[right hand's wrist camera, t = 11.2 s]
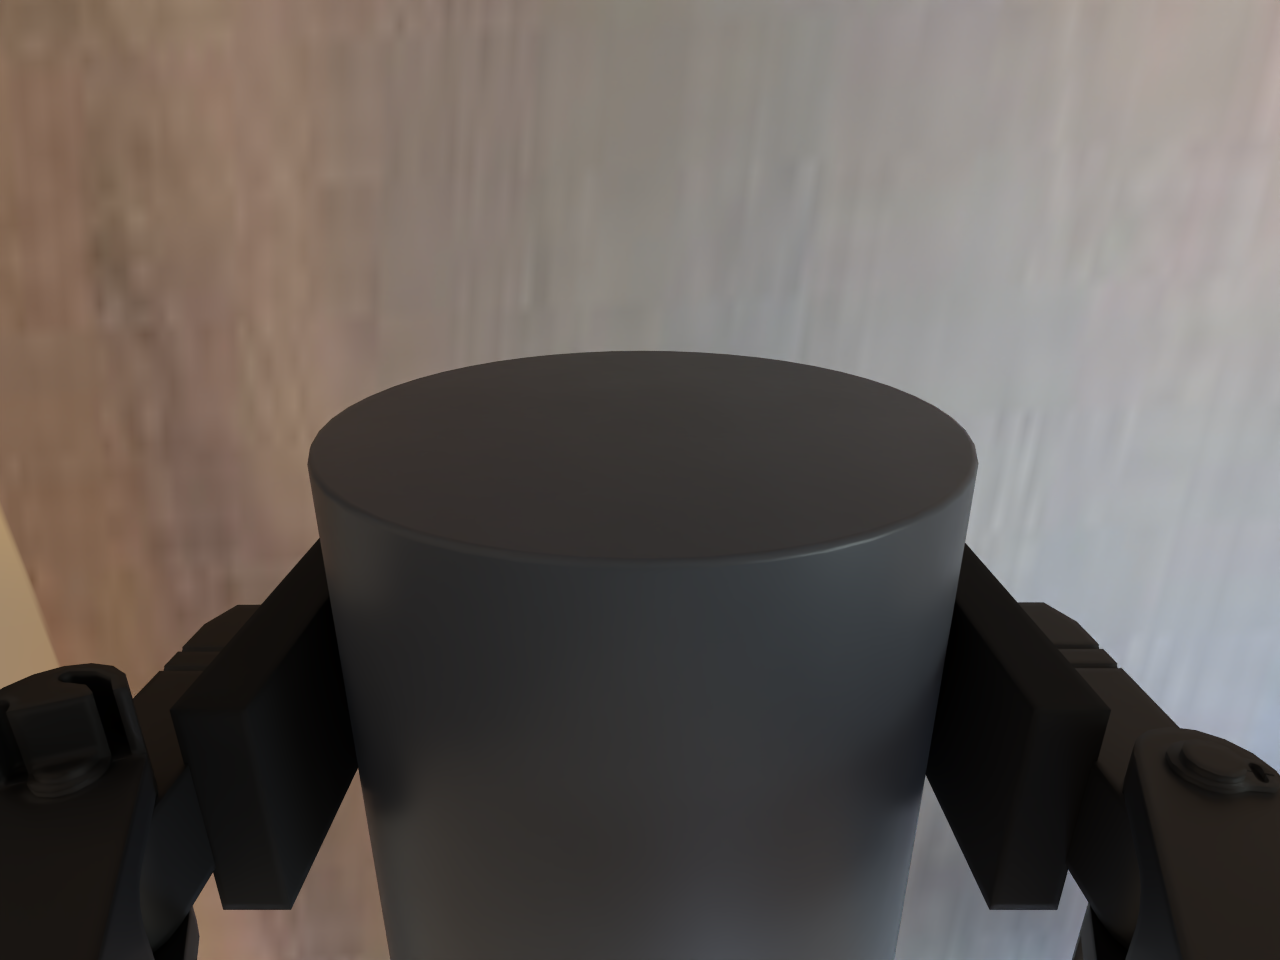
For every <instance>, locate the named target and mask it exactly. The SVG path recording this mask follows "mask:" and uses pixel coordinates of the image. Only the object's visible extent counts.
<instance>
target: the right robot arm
mask: <svg viewBox="0 0 1280 960" xmlns="http://www.w3.org/2000/svg"><path fill="white" fill-rule="evenodd" d="M357 769H358V763H357V757H356V751H355V745H354V739H353V733H352V727H351V721H350V715H349V709H348V703H347V697H346V691H345V685H344V679H343V673H342V667H341V661H340V655H339V650H338V644H337V638H336V632H335V626H334V620H333V614H332V608H331V602H330V596H329V590H328V584H327V578H326V572H325V566H324V560H323V554H322V548H321V542H320V538H319V539H318V540H317V542H316V543H315V544H314V545H313V546H312V547H311V548H310V550H309V551H308V552H307V553H306V554H305V555H304V556H303V558H302V559H301V560H300V561H299V562H298V563H297V564H296V566H295V567H294V568H293V569H292V570H291V571H290V572H289V574H288V575H287V576H286V577H285V578H284V579H283V580H282V582H281V583H280V584H279V585H278V586H277V587H276V588H275V590H274V591H273V592H272V593H271V594H270V595H269V596H268V598H267V599H266V600H265V601H264V602H263V603H262V604H261V605H237V606H235V607H233V608H231V609H230V610H228V611H226V612H225V613H223V614H221V615H220V616H218V617H216V618H214V619H213V620H211V621H209V622H208V623H206V624H204V625H203V626H202V627H201V628H200V629H199V631H198V632H197V633H196V634H195V635H194V636H193V637H192V638H191V639H190V640H189V641H188V642H187V643H186V644H185V645H184V646H183V650H182V652H177V653H176V654H175V655H174V657H173V658H172V659H171V660H170V661H169V662H168V663H167V664H166V665H165V666H164V671H159V672H158V673H157V674H156V675H155V676H154V677H153V678H152V679H151V680H150V681H149V683H148V684H147V685H146V686H145V687H144V688H143V689H142V690H141V691H140V692H139V693H138V694H137V695H136V696H135V697H134V698H132V695H131V691H130V688H129V685H128V681H127V678H126V674H125V673H123V672H121V671H120V670H118V669H117V668H115V667H114V666H109V665H101V664H94V663H89V664H80V665H71V666H63V667H59V668H56V669H52V670H48V671H45V672H41V673H37V674H34V675H31V676H29V677H27V678H24V679H22V680H20V681H17V682H15V683H13V684H11V685H8V686H6V687H4V688H2V689H0V960H197V954H198V945H199V931H198V925H197V920H196V916H195V913H194V909H193V904H194V902H195V901H196V899H197V897H198V896H199V894H200V893H201V891H202V889H203V888H204V886H205V884H206V883H207V881H208V879H209V878H210V876H211V875H212V873H214V877H215V881H216V884H217V888H218V892H219V895H220V899H221V903H222V907H223V910H291V908H292V906H293V904H294V902H295V900H296V898H297V896H298V894H299V892H300V889H301V887H302V885H303V883H304V881H305V879H306V877H307V875H308V873H309V870H310V868H311V866H312V864H313V862H314V860H315V858H316V856H317V853H318V851H319V849H320V847H321V845H322V843H323V841H324V839H325V837H326V834H327V832H328V830H329V828H330V826H331V824H332V822H333V820H334V817H335V815H336V813H337V811H338V809H339V807H340V805H341V803H342V801H343V798H344V796H345V794H346V792H347V790H348V788H349V786H350V784H351V782H352V779H353V777H354V775H355V773H356V771H357ZM926 776H927V778H928V780H929V783H930V785H931V787H932V789H933V791H934V793H935V795H936V797H937V799H938V802H939V804H940V806H941V808H942V810H943V812H944V814H945V816H946V819H947V821H948V823H949V825H950V827H951V829H952V831H953V833H954V835H955V838H956V840H957V842H958V844H959V846H960V848H961V850H962V852H963V854H964V857H965V859H966V861H967V863H968V865H969V867H970V869H971V871H972V874H973V876H974V878H975V880H976V882H977V884H978V886H979V888H980V890H981V893H982V895H983V897H984V899H985V901H986V903H987V905H988V907H989V909H990V910H1057V909H1058V905H1059V901H1060V898H1061V894H1062V890H1063V886H1064V883H1065V879H1066V875H1067V872H1068V870H1069V871H1070V873H1071V874H1072V876H1073V878H1074V879H1075V881H1076V883H1077V884H1078V886H1079V888H1080V889H1081V891H1082V892H1083V894H1084V896H1085V897H1086V899H1087V901H1088V906H1087V909H1086V913H1085V916H1084V920H1083V923H1082V927H1081V930H1080V933H1079V937H1078V940H1077V944H1076V947H1075V951H1074V954H1073V958H1072V960H1280V775H1279V774H1278V773H1277V771H1276V770H1274V769H1273V768H1272V767H1270V766H1269V765H1268V764H1266V763H1265V762H1264V761H1262V760H1261V759H1260V758H1258V757H1257V756H1256V755H1254V754H1253V753H1251V752H1249V751H1247V750H1245V749H1243V748H1241V747H1239V746H1237V745H1235V744H1233V743H1231V742H1229V741H1227V740H1225V739H1222V738H1219V737H1216V736H1213V735H1209V734H1206V733H1203V732H1200V731H1197V730H1190V729H1182V728H1179V727H1178V726H1177V725H1176V724H1175V723H1174V722H1173V721H1172V720H1171V719H1170V718H1169V716H1168V715H1167V714H1166V713H1165V712H1164V711H1163V710H1162V709H1161V708H1160V707H1159V706H1158V705H1157V704H1156V703H1155V702H1154V701H1153V700H1152V699H1151V698H1150V697H1149V696H1148V695H1147V694H1146V693H1145V692H1144V691H1143V690H1142V689H1141V688H1140V687H1139V686H1138V684H1137V683H1136V682H1135V681H1134V680H1133V679H1132V678H1131V677H1130V676H1129V675H1128V674H1127V673H1126V672H1125V671H1124V670H1123V669H1122V668H1117V663H1116V662H1115V661H1114V660H1113V659H1112V658H1111V657H1110V656H1109V655H1108V654H1107V652H1106V651H1105V650H1104V649H1099V644H1098V643H1097V642H1096V641H1095V640H1094V639H1093V638H1092V637H1091V636H1090V635H1089V634H1088V633H1087V632H1086V631H1085V630H1084V629H1083V628H1082V627H1081V626H1080V625H1079V624H1078V623H1077V622H1076V621H1075V620H1073V619H1071V618H1069V617H1068V616H1066V615H1064V614H1063V613H1061V612H1059V611H1057V610H1056V609H1054V608H1052V607H1051V606H1049V605H1047V604H1045V603H1044V602H1016V600H1015V599H1014V598H1013V597H1012V596H1011V595H1010V594H1009V592H1008V591H1007V590H1006V589H1005V588H1004V587H1003V586H1002V584H1001V583H1000V582H999V581H998V580H997V579H996V578H995V576H994V575H993V574H992V573H991V572H990V571H989V570H988V568H987V567H986V566H985V565H984V564H983V563H982V562H981V560H980V559H979V558H978V557H977V556H976V555H975V553H974V552H973V551H972V550H971V549H970V548H969V547H968V545H967V544H966V543H965V545H964V551H963V557H962V563H961V568H960V574H959V580H958V586H957V592H956V598H955V604H954V610H953V616H952V621H951V627H950V633H949V639H948V645H947V651H946V657H945V663H944V668H943V674H942V680H941V686H940V692H939V698H938V704H937V710H936V716H935V721H934V727H933V733H932V739H931V745H930V751H929V757H928V763H927V768H926Z"/></svg>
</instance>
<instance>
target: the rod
mask: <svg viewBox="0 0 1280 960" xmlns="http://www.w3.org/2000/svg"><path fill="white" fill-rule="evenodd" d="M307 465H308V471H309V477H310V483H311V489H312V495H313V501H314V507H315V513H316V519H317V524H318V530H319V536H320V542H321V548H322V554H323V560H324V566H325V572H326V578H327V584H328V590H329V596H330V602H331V608H332V614H333V620H334V626H335V632H336V638H337V644H338V650H339V655H340V661H341V667H342V673H343V679H344V685H345V691H346V697H347V703H348V709H349V715H350V721H351V727H352V733H353V739H354V745H355V751H356V757H357V763H358V769H359V775H360V781H361V787H362V792H363V798H364V804H365V810H366V816H367V822H368V828H369V834H370V840H371V846H372V852H373V858H374V864H375V870H376V876H377V882H378V888H379V894H380V900H381V906H382V912H383V918H384V923H385V929H386V935H387V941H388V947H389V953H390V959H391V960H894V957H895V951H896V945H897V939H898V933H899V927H900V921H901V916H902V910H903V904H904V898H905V892H906V886H907V880H908V874H909V868H910V863H911V857H912V851H913V845H914V839H915V833H916V827H917V821H918V816H919V810H920V804H921V798H922V792H923V786H924V780H925V774H926V768H927V763H928V757H929V751H930V745H931V739H932V733H933V727H934V721H935V716H936V710H937V704H938V698H939V692H940V686H941V680H942V674H943V668H944V663H945V657H946V651H947V645H948V639H949V633H950V627H951V621H952V616H953V610H954V604H955V598H956V592H957V586H958V580H959V574H960V568H961V563H962V557H963V551H964V545H965V539H966V533H967V527H968V521H969V516H970V510H971V504H972V498H973V492H974V486H975V480H976V474H977V468H978V459H977V454H976V449H975V445H974V443H973V442H972V440H971V438H970V437H969V435H968V433H967V432H966V430H965V429H964V428H962V427H961V426H960V425H959V424H958V423H957V422H956V421H955V420H954V419H953V418H952V417H950V416H949V415H947V414H946V413H944V412H943V411H941V410H940V409H938V408H937V407H935V406H933V405H931V404H929V403H927V402H925V401H923V400H921V399H919V398H917V397H916V396H913V395H911V394H908V393H906V392H903V391H901V390H898V389H896V388H893V387H891V386H888V385H885V384H881V383H878V382H875V381H872V380H869V379H866V378H862V377H858V376H855V375H851V374H847V373H843V372H839V371H834V370H830V369H825V368H820V367H816V366H810V365H804V364H799V363H793V362H787V361H780V360H772V359H765V358H757V357H748V356H738V355H728V354H713V353H699V352H675V351H609V352H586V353H571V354H557V355H546V356H537V357H527V358H519V359H512V360H505V361H497V362H492V363H486V364H480V365H474V366H469V367H464V368H460V369H455V370H450V371H446V372H441V373H438V374H434V375H430V376H426V377H423V378H419V379H416V380H412V381H409V382H406V383H403V384H400V385H397V386H394V387H392V388H389V389H387V390H384V391H382V392H379V393H377V394H374V395H372V396H369V397H367V398H365V399H363V400H361V401H360V402H358V403H356V404H354V405H352V406H350V407H348V408H347V409H345V410H344V411H342V412H341V413H339V414H338V415H336V416H335V417H334V418H332V419H331V420H330V421H329V422H328V423H327V424H326V425H325V426H324V427H323V428H322V429H321V430H320V431H319V432H318V434H317V436H316V437H315V439H314V441H313V442H312V444H311V447H310V451H309V457H308V464H307Z"/></svg>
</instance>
